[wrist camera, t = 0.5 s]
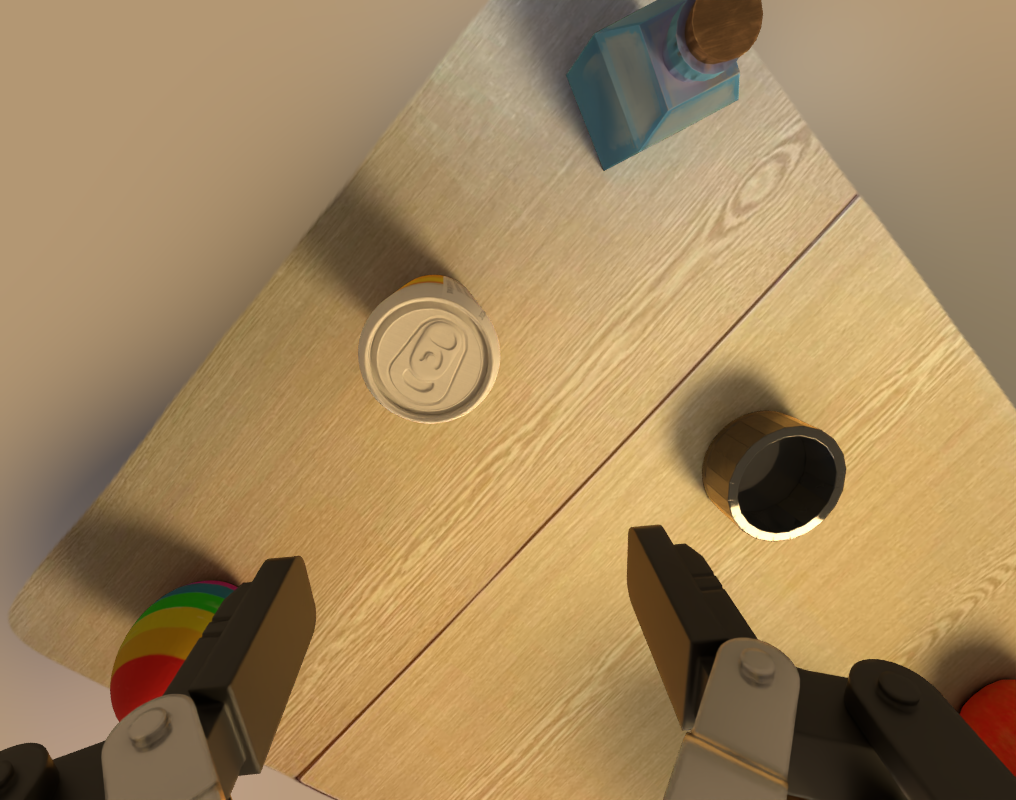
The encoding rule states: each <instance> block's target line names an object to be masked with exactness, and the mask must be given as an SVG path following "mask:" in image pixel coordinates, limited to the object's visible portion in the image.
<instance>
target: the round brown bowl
mask: <svg viewBox="0 0 1016 800" xmlns="http://www.w3.org/2000/svg"><path fill="white" fill-rule="evenodd" d="M845 475H846V465H845V460H844V454H843V453H842V451H841V449H840V448H839V446H838V444H837V443H836V441H835V440H834V439H833V438H832V437H830V436H829V435H828V434H826V433H825V432H823V431H822V430H820V429H818V428H816V427H814V426H811V425H809V424H807V423H805V422H803V421H800V420H798V419H796V418H794V417H792V416H789V415H785V414H783V413H780V412H776V411H757V412H752V413H749V414H746V415H743V416H741V417H739V418H737V419H735V420H734V421H732V422H731V423H729V424H728V425H727V426H725V427H724V428H723V429H722V430H721V431H720V432H719V433H718V435H717V436H716V437H715V438H714V440H713V441H712V443H711V444H710V446H709V448H708V450H707V453H706V455H705V458H704V462H703V469H702V479H703V485H704V488H705V491H706V493H707V495H708V497H709V498H710V500H711V501H712V502H713V503H714V504H715V505H716V506H717V508H718V509H719V510H720V511H721V512H722V513H724V514H725V515H726V516H727V517H728V518H729V519H730V520H731V521H732V522H733V523H734V524H736V525H737V526H738V527H739V528H740V529H741V530H742V531H744V532H746V533H747V534H749V535H751V536H752V537H754V538H756V539H761V540H766V541H781V540H789V539H793V538H795V537H798V536H800V535H803V534H805V533H807V532H809V531H810V530H812V529H813V528H814V527H816V526H817V525H818V524H820V523H821V522H822V521H823V520H824V519H825V518H826V517H827V516H828V515H829V513H830V512H831V511H832V510H833V508H834V507H835V505H836V504H837V502H838V500H839V498H840V495H841V493H842V491H843V489H844V488H843V487H844V482H845Z"/></svg>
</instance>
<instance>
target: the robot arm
mask: <svg viewBox="0 0 1016 800" xmlns="http://www.w3.org/2000/svg"><path fill="white" fill-rule="evenodd" d="M627 586H628V592H629V597H630V600H631V604H632V606H633V609H634V611H635V614H636V616H637V619H638V621H639V624H640V626H641V629H642V631H643V634H644V636H645V639H646V641H647V644H648V646H649V649H650V651H651V653H652V656H653V658H654V661H655V663H656V666H657V668H658V671H659V673H660V676H661V678H662V681H663V683H664V686H665V688H666V691H667V693H668V696H669V698H670V701H671V703H672V706H673V708H674V711H675V713H676V716H677V718H678V721H679V723H680V726H681V728H682V731H683V730H692V731H691V733H689V732H687V733H686V735H685V737H684V739H683V742H682V745H681V748H680V751H679V754H678V757H677V760H676V763H675V766H674V769H673V772H672V775H671V778H670V781H669V784H668V787H667V790H666V793H665V796H664V799H663V800H787V794H788V795H792V796H796V797H800V798H804V799H809V800H1016V777H1015V776H1014V775H1013V774H1012V773H1011V772H1010V770H1009V769H1008V768H1007V767H1006V766H1005V765H1004V764H1003V763H1002V762H1001V760H1000V759H999V758H998V757H997V756H996V755H995V754H994V753H993V751H992V750H991V749H990V748H989V747H988V746H987V745H986V744H985V743H984V741H983V740H982V739H981V738H980V737H979V736H978V735H977V734H976V733H975V731H974V730H973V729H972V728H971V727H970V726H969V725H968V724H967V722H966V721H965V720H964V719H963V718H962V717H961V716H960V715H959V714H958V712H957V711H956V710H955V709H954V708H953V707H952V706H951V705H950V703H949V702H948V701H947V700H946V699H945V698H944V697H943V696H942V695H941V693H940V692H939V691H938V690H937V689H936V688H935V687H934V686H933V685H932V684H930V683H929V682H928V681H927V680H926V679H924V678H923V677H921V676H920V675H918V674H917V673H915V672H913V671H911V670H910V669H908V668H905V667H903V666H901V665H898V664H896V663H893V662H889V661H885V660H879V659H867V660H862V661H859V662H857V663H856V664H854V665H853V667H852V668H851V670H850V673H849V677H848V678H846V677H840V676H834V675H829V674H823V673H818V672H812V671H807V670H803V669H800V668H797V667H795V665H794V664H793V662H792V661H791V660H790V659H789V658H788V657H787V656H786V655H785V654H784V653H783V652H781V651H780V650H778V649H777V648H775V647H774V646H772V645H770V644H768V643H766V642H763V641H760V640H758V639H757V637H756V636H755V634H754V633H753V631H752V630H751V628H750V627H749V625H748V624H747V622H746V621H745V619H744V618H743V616H742V615H741V613H740V612H739V610H738V609H737V607H736V606H735V604H734V603H733V601H732V600H731V598H730V597H729V595H728V594H727V592H726V591H725V589H723V588H722V585H721V583H720V582H719V580H718V579H717V577H716V576H714V574H713V571H712V570H711V568H710V567H709V565H708V564H707V562H706V561H705V559H704V558H703V556H701V555H700V554H699V553H697V552H696V551H695V550H693V549H692V548H691V547H689V546H688V545H687V544H675V545H673V543H672V542H671V540H670V538H669V537H668V535H667V533H666V532H665V530H664V528H663V527H662V526H661V525H651V526H639V527H630V529H629V533H628V558H627ZM315 623H316V608H315V603H314V599H313V595H312V591H311V587H310V583H309V579H308V575H307V571H306V567H305V563H304V560H303V559H302V557H301V556H294V557H283V558H272V559H267V560H266V561H265V562H264V563H263V565H262V566H261V568H260V570H259V571H258V573H257V575H256V576H255V578H254V580H253V581H252V582H248V583H242V584H241V585H240V586H239V587H238V588H237V589H236V590H234V591H233V592H232V593H231V594H230V595H229V596H228V597H226V598H225V599H224V600H223V602H222V603H221V605H220V607H219V608H218V610H217V611H216V613H215V614H214V616H213V618H212V622H209V624H208V625H207V627H206V628H205V630H204V632H203V633H202V638H199V639H198V641H197V642H196V644H195V646H194V647H193V649H192V650H191V652H190V653H189V655H188V656H187V658H186V660H185V661H184V663H183V664H182V666H181V667H180V669H179V671H178V672H177V674H176V675H175V677H174V678H173V680H172V681H171V683H170V685H169V686H168V688H167V689H166V691H165V692H164V694H163V695H162V696H160V697H158V698H155V699H152V700H150V701H148V702H146V703H144V704H143V705H141V706H139V707H137V708H136V709H135V710H133V711H132V712H130V713H129V714H128V715H127V716H126V717H124V718H123V719H122V720H121V721H120V722H119V723H118V724H117V725H116V726H115V728H114V729H113V730H112V731H111V733H110V734H109V736H108V737H107V739H106V740H105V741H103V742H100V743H98V744H95V745H92V746H89V747H87V748H84V749H81V750H78V751H76V752H73V753H70V754H68V755H65V756H62V757H59V758H56V759H54V760H52V759H51V757H50V755H49V753H48V751H47V750H46V748H45V747H44V746H43V745H41V744H37V743H24V744H20V745H16V746H13V747H10V748H7V749H5V750H2V751H0V800H232V798H231V795H230V794H231V792H232V790H233V787H234V785H235V782H236V780H237V778H238V776H241V775H250V774H259V773H261V770H262V768H263V765H264V762H265V760H266V757H267V755H268V752H269V749H270V747H271V744H272V741H273V739H274V736H275V733H276V731H277V728H278V725H279V723H280V720H281V718H282V715H283V712H284V710H285V707H286V704H287V702H288V699H289V696H290V694H291V691H292V689H293V686H294V683H295V681H296V678H297V675H298V673H299V670H300V667H301V665H302V662H303V659H304V657H305V654H306V652H307V649H308V646H309V644H310V641H311V638H312V636H313V633H314V629H315Z"/></svg>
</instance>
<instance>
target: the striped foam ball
mask: <svg viewBox="0 0 1016 800" xmlns="http://www.w3.org/2000/svg"><path fill="white" fill-rule="evenodd" d="M237 588H238V587H236V586H234V585H232V584H229V583H227V582H222V581H212V580H208V581H199V582H194V583H190V584H187V585H184V586H182V587H179V588H177V589H175V590H173V591H171V592H169V593H168V594H166V595H164V596H163V597H161V598H160V599H159V600H157V601H156V602H155V603H154V604H152V605H151V606H150V607H149V608H148V609H147V610H146V611H145V612H144V613H143V614H142V615H141V616H140V617H139V619H138V620H137V621H136V622H135V624H134V625H133V626H132V628H131V629H130V631H129V632H128V634H127V635H126V637H125V639H124V641H123V643H122V645H121V647H120V649H119V651H118V654H117V656H116V659H115V663H114V666H113V671H112V675H111V683H110V694H111V702H112V706H113V709H114V712H115V715H116V717H117V719H118V720H119V722H120V721H121V720H122V719H123V718H124V717H126V716H127V715H128V714H129V713H130V712H132V711H133V710H135V709H136V708H137V707H139V706H141V705H143V704H144V703H146V702H148V701H150V700H152V699H155V698H158V697H160V696H162V695H163V694H164V692H165V691H166V689H167V688H168V686H169V685H170V683H171V681H172V680H173V678H174V677H175V675H176V674H177V672H178V671H179V669H180V667H181V666H182V664H183V663H184V661H185V660H186V658H187V656H188V655H189V653H190V652H191V650H192V649H193V647H194V646H195V644H196V642H197V641H198V639H199V638H202V633H203V632H204V630H205V628H206V627H207V625H208V624H209V622H212V618H213V616H214V614H215V613H216V611H217V610H218V608H219V607H220V605H221V603H222V602H223V600H224V599H225V598H226V597H228V596H229V595H230V594H231V593H232V592H233V591H234V590H236V589H237Z"/></svg>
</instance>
